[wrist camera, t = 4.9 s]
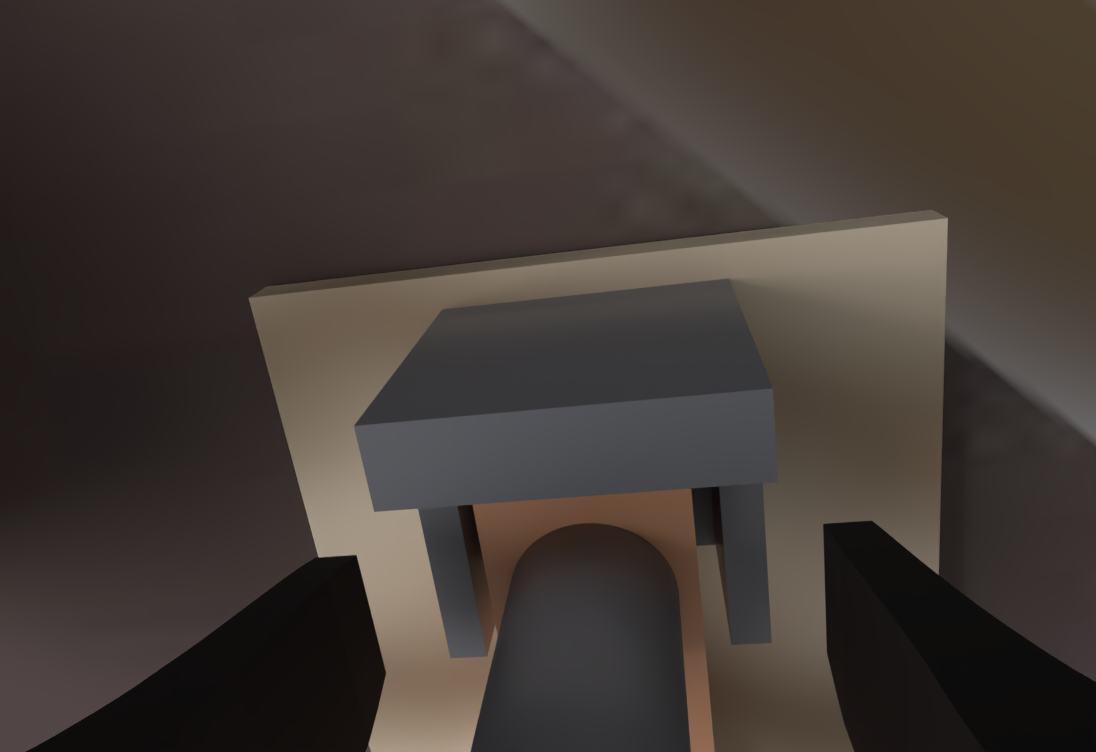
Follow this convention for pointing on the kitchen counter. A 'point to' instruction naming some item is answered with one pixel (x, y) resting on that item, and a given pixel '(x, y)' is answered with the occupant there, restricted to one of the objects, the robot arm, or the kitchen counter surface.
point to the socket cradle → (579, 430)
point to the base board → (791, 542)
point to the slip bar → (594, 626)
